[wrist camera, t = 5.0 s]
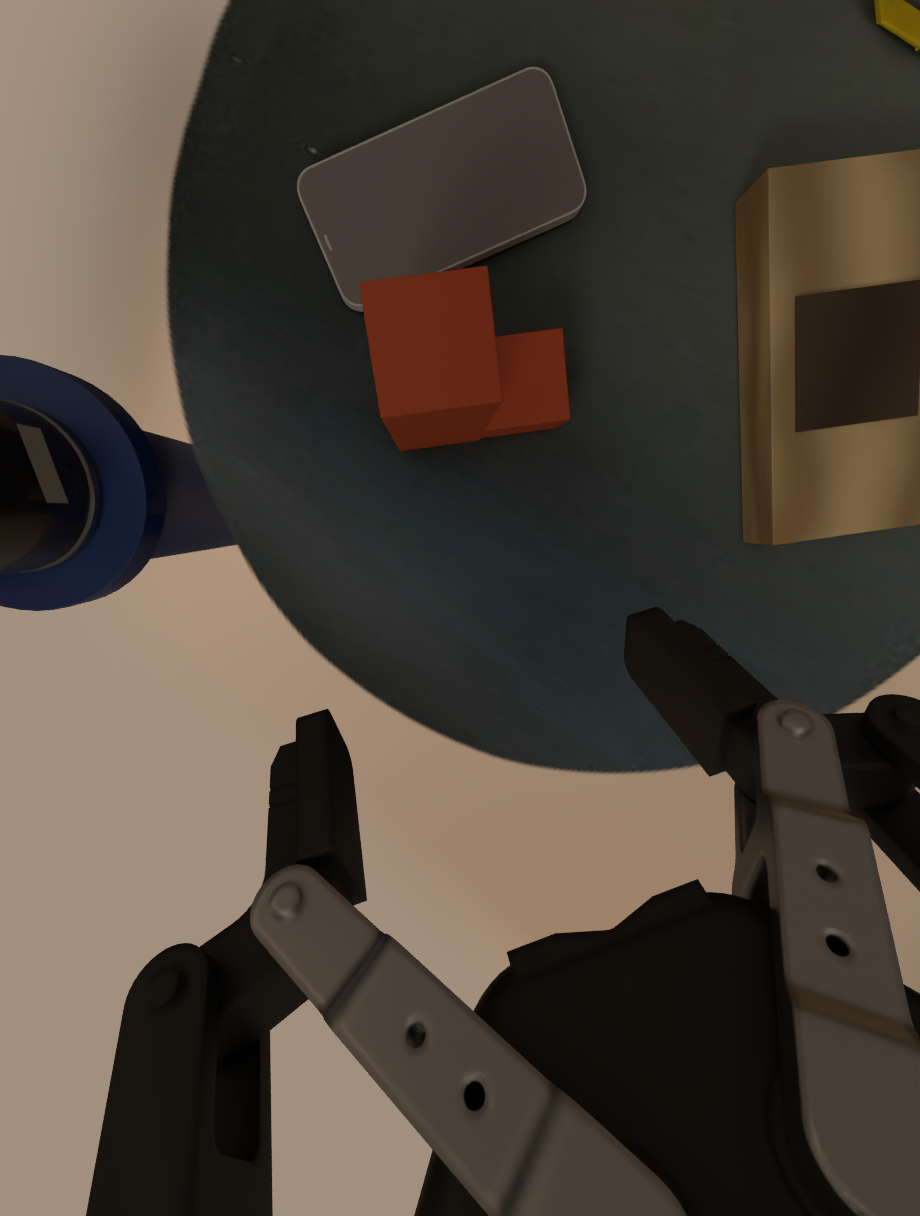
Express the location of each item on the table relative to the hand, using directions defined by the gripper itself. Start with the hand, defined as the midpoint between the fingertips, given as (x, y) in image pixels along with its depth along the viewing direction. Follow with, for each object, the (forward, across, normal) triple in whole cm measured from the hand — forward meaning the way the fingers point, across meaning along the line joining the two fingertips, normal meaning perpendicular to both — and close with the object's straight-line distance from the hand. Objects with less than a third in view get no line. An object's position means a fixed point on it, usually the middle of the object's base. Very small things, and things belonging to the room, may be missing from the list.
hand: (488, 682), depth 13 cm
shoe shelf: (+17, +31, -2) cm, 36 cm away
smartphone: (+27, +7, +10) cm, 29 cm away
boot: (+22, +6, +1) cm, 23 cm away
